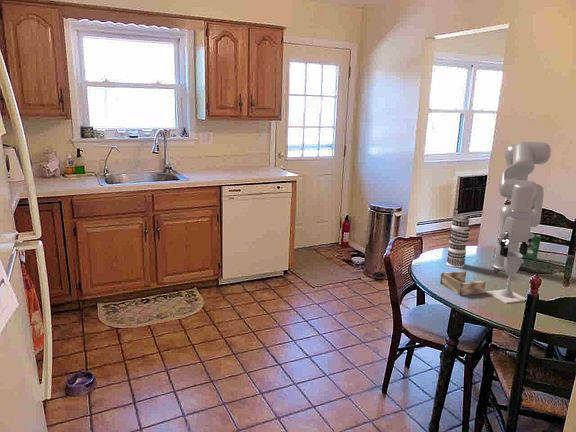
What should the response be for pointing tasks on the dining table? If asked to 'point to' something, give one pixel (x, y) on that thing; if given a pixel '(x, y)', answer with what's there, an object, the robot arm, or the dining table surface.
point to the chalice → (511, 270)
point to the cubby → (454, 283)
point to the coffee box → (533, 248)
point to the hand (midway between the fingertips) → (513, 255)
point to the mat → (505, 299)
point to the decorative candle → (458, 241)
